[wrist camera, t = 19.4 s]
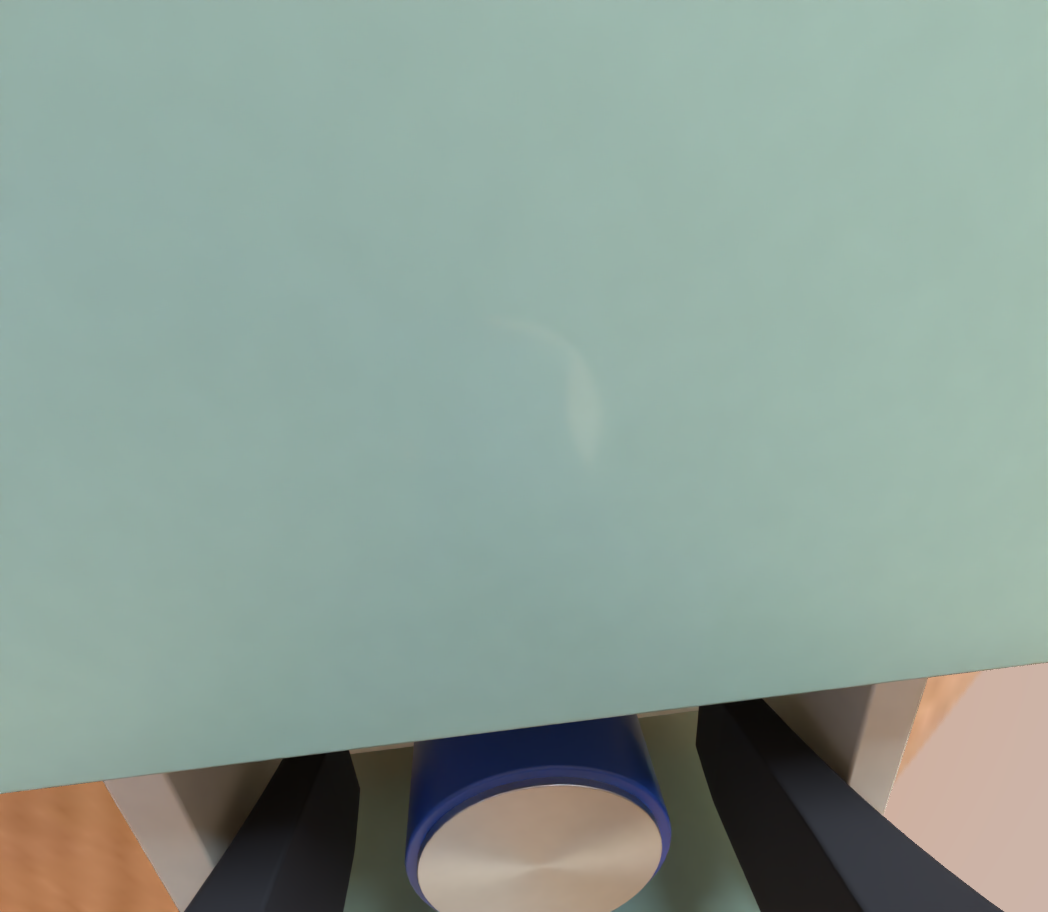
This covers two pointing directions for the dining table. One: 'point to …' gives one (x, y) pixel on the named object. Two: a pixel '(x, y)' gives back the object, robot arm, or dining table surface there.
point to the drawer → (385, 777)
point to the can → (536, 819)
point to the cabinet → (508, 365)
